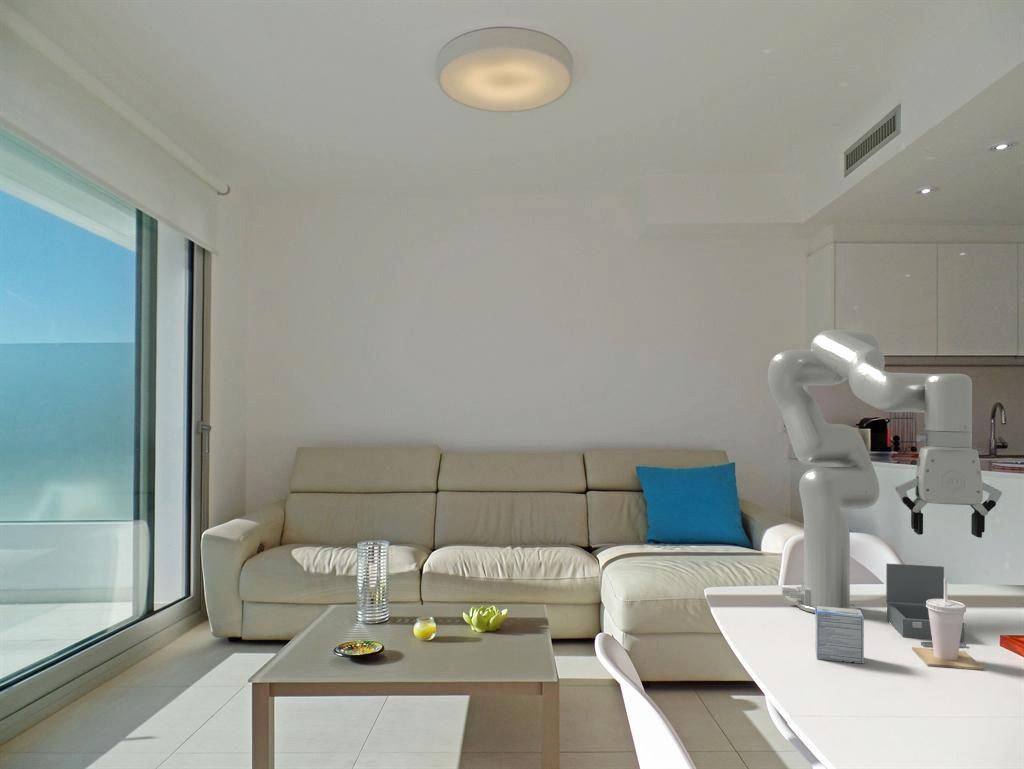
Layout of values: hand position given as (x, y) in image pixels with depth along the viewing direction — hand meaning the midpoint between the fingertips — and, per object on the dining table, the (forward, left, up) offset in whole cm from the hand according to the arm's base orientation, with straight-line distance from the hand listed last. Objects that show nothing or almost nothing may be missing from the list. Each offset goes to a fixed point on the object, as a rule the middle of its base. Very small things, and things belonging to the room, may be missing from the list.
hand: (947, 534), depth 138 cm
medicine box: (-19, -5, -23) cm, 30 cm away
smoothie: (0, -1, -22) cm, 22 cm away
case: (+1, +17, -22) cm, 28 cm away
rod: (+2, +7, -23) cm, 24 cm away
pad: (0, -1, -22) cm, 22 cm away
